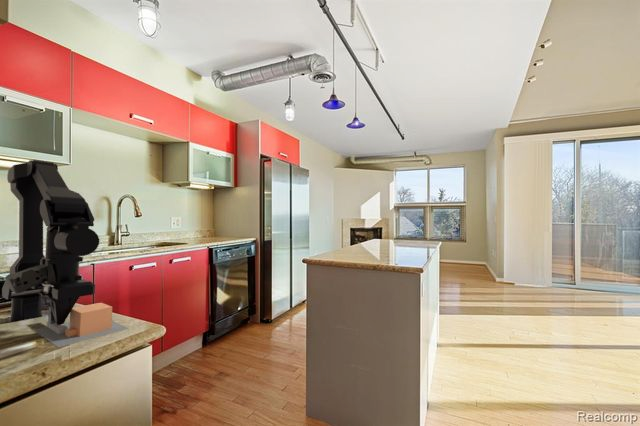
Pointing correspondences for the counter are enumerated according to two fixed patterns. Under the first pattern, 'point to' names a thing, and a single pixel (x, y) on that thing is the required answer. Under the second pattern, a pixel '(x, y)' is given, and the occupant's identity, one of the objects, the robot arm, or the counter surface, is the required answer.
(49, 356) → the counter surface
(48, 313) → the latch bolt
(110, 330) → the latch plate
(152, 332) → the counter surface
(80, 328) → the cover
